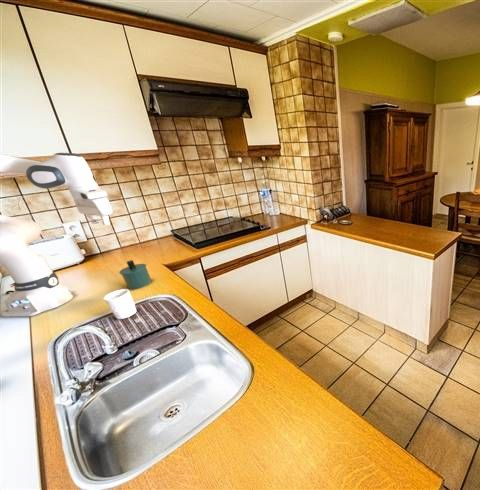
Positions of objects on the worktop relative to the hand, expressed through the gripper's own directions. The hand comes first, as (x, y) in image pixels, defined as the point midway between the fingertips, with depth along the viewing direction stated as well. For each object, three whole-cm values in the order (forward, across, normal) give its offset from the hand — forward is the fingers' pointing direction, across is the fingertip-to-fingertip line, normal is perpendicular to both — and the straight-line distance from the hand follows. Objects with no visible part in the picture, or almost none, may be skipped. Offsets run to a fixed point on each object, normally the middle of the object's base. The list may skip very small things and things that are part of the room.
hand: (101, 224), depth 117 cm
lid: (+26, -2, +4) cm, 26 cm away
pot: (+34, -2, +4) cm, 34 cm away
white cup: (+34, +21, -13) cm, 42 cm away
